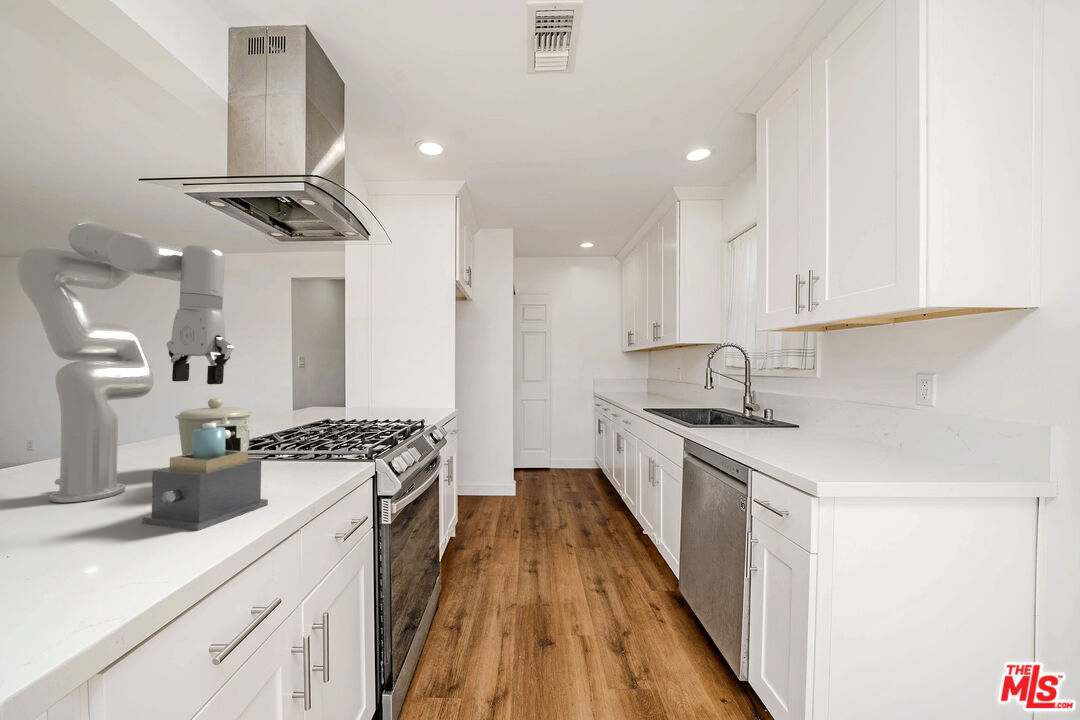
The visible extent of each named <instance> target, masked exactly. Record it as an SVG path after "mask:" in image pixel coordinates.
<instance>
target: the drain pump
mask: <svg viewBox="0 0 1080 720" xmlns="http://www.w3.org/2000/svg"><path fill="white" fill-rule="evenodd" d="M230 436H231V432H230V431H229V430H225V428H224V427H216V423H204V424H202V428H201V429H195V430H192V458H197V459H211V458H216V457H221V456H225V439H227V438H230Z"/></svg>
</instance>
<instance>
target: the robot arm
mask: <svg viewBox="0 0 1080 720" xmlns="http://www.w3.org/2000/svg"><path fill="white" fill-rule="evenodd" d="M67 240H68V244H69V245H70V247H71V248H72V249H73V250H71V249H67V248H61V247H55V246H44V245H43V246H34V247H33V246H32V247H29V248H26V249H25V250H23V251H22V252H21V254H20V255H19V257H18V262H17V268H16V270H17V271H16V272H17V277H18V281H19V284H20V286H21V288H22V290H23V292H24V293H25V295H26V296H27V298H28V299H29V301H30V302H31V303H32V304H33V307H34V308H35V309H36V311H37V313H38V315H39V318H40V321H41V324H42V326H43V329H44V332H45V334H46V337H47V340H48V342H49V345H50V348H51V349H52V351H53V352H54V355H56V356H57V357H58V358H60V359H62V360H68V361H72V362H69V363H67V364H65V365H63V366H62V367H60V368H59V369H58V371H57V373H56V375H55V388H56V392H57V395H58V399H59V405H60V407H59V408H60V462H59V463H60V465H59V466H60V467H59V468H60V470H59V472H60V474H59V478H57V479H55V480H54V485H56V486H57V485H59V486H58V487H59V490H58V491H55V492H53V493H51V494H50V495H49V501H50V502H52V503H61V504H62V503H78V502H86V501H95V500H98V499H99V500H100V499H105V498H109V497H112V496H116V495H119V494H121V493H124V492H125V491H126V485H125V484H123V483H119V482H118V452H119V451H118V449H119V447H118V445H119V418H118V415H117V413H116V412H115V409H113V408H112V407H111V406H110V404H109V403H108V401H112V400H114V401H115V400H117V401H118V400H127V399H128V400H130V399H139V398H142V397H145V396H147V395H148V394H149V393H150V392H151V391H152V389H153V386H154V374H153V371H152V368H151V365H150V363H149V360H148V358H147V356H146V353H145V351H144V348H143V345H142V344H141V340H140V339H139V337H138V335H137V334H136V332H135V331H134V330H133V329H132V328H130V327H128V326H126V325H123V324H119V323H109V322H107V323H105V322H99V321H97V320H95V319H94V318H93V316H92V314H91V311H90V309H89V306H88V305H87V304H86V302H85V301H84V300H83V299H82V297H80V296H79V295H78V294H77V293H75V292H74V291H73V290H71V289H70V288H68V287H67V285H68V286H74V287H80V288H87V289H96V290H110V289H114V288H116V287H118V286H120V285H121V284H123V283H124V282H126V280H128V279H129V278H130V277H132V276H133V275H134V274H136V275H141V276H146V277H151V278H158V279H163V280H170V281H174V282H180V284H179V285H180V286H179V304H178V305H179V307H178V308H177V309H176V312H175V315H174V319H173V324H172V330H171V338H170V340H169V341H168V342H166V347H167V350H168V355H169V357H170V363H172V374H171V375H172V376H171V377H172V378H171V379H172V380H171V381H172V382H188V381H189V380H190V363H189V362H188V361H189V360H190V359H191V358H192V357H206V359H207V361H208V362H209V364H210V365H208V366H207V374H206V383H207V385H222V384H223V383H224V371H225V367H226V366H227V362H228V361H229V360H230V358H231V354H232V352H233V350H234V346H233V345H232V344H231V343H229V342H228V341H227V340H226V329H225V328H226V325H225V315H224V312H223V303H224V302H223V301H224V299H223V298H224V286H225V285H224V284H225V265H226V264H225V263H226V257H225V253H223V251H222V250H219V249H217V248H214V247H210V246H203V245H198V244H197V245H196V244H195V245H194V244H192V245H187V246H184V247H180V246H177V245H173V244H168V243H164V242H160V241H157V240H151V239H148V238H144V237H143V236H142V235H141V234H138V233H135V232H131V231H127V230H123V229H119V228H115V227H112V226H108V225H104V224H100V223H90V222H89V223H88V222H87V223H81V224H78V225H76V226H74V227H73V228H71V229H70V230H69V231H68V234H67ZM73 361H74V362H73Z"/></svg>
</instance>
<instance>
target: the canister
mask: <svg viewBox="0 0 1080 720" xmlns="http://www.w3.org/2000/svg"><path fill="white" fill-rule="evenodd" d="M223 403H224V401H223V400H222V398H218V397H215V398H214V397H213V398H210V399H209V400H208V401H207V405H208V407H199V408H198V407H197V408H192V409H187V410H183V411H181V412H180V413H179V414H177V415H175V419H177V420H178V422H177V423H178V431H179V437H180V438H179V439H180V447H181V455H186V454H191V453H192V430H195V429H200V428H201V427H202V424H204V423H210V422H212V421H214V420H222V417H223V416H227V420H240V419H245V420H246V421H245V423H248V424H249V422H250V416H251V415H252V414H253V412H251V411H249V410H248V409H246V408H245V407H244V408H243V407H237V406H236V407H235V406H223ZM248 427H249V426H248ZM248 427H246V428H245V430H249V429H248Z"/></svg>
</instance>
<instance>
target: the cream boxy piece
mask: <svg viewBox="0 0 1080 720" xmlns="http://www.w3.org/2000/svg"><path fill="white" fill-rule="evenodd" d="M245 421H246V420H245V419H240V420H227V416H223V417H222V420H214V421H212V422H210V423H216V427H224V428H225V430H229V431H230V432H231V436H230V438H227V439H225V450H231V451H244V452H247V450H248V449H249V448H250V430H249V429H248V430H245V428H246V427H249V423H245ZM201 428H202V427H201ZM201 428H200V429H201Z"/></svg>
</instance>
